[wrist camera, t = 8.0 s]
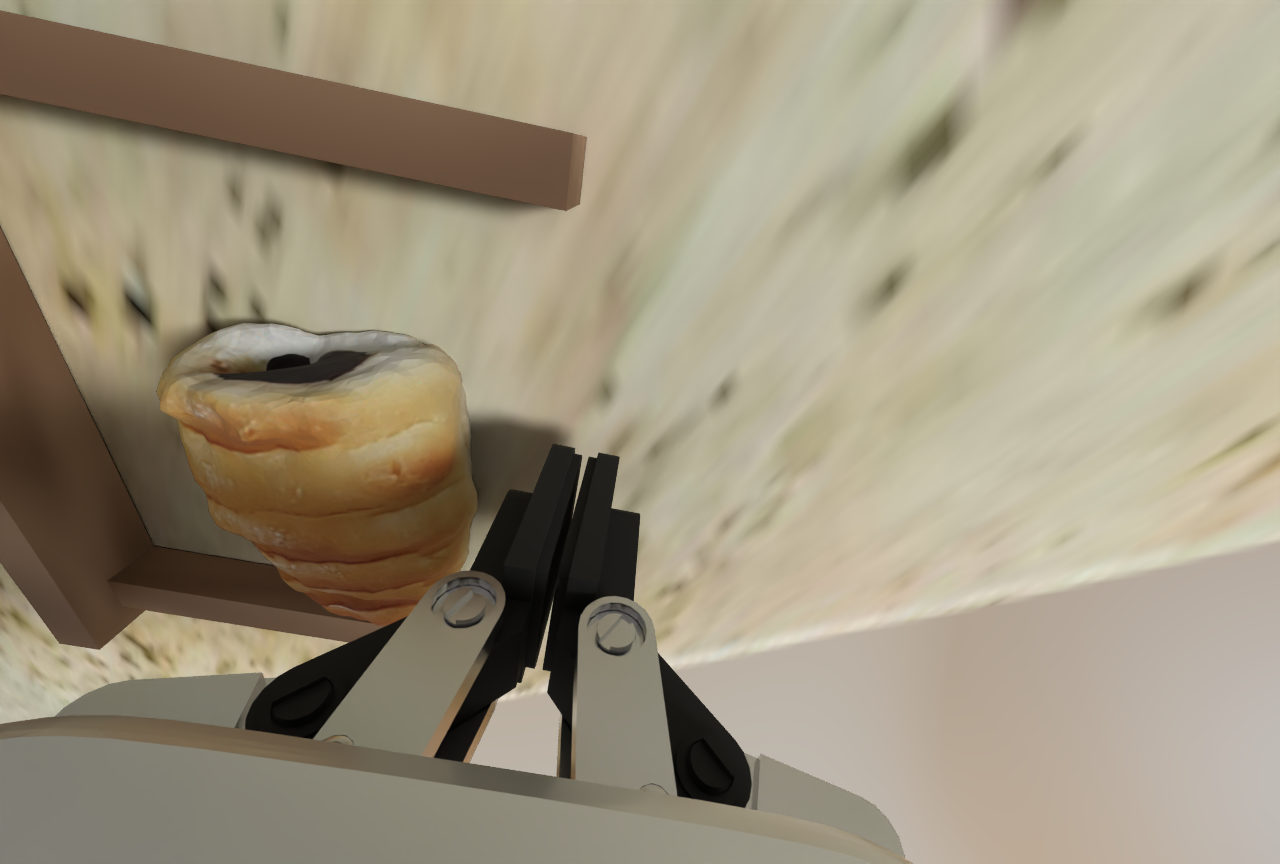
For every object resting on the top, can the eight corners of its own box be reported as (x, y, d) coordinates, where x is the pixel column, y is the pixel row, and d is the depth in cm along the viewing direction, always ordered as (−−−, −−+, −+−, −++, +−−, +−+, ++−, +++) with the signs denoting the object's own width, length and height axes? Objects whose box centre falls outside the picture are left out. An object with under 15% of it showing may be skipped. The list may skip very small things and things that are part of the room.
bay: (-218, -90, 8) (-543, -183, 6) (591, 87, 9) (566, 63, 7) (138, 580, 17) (59, 643, 14) (533, 644, 17) (513, 713, 15)
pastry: (512, 588, 16) (470, 697, 13) (322, 574, 16) (235, 678, 13) (470, 322, 11) (389, 388, 8) (205, 309, 12) (22, 367, 8)
